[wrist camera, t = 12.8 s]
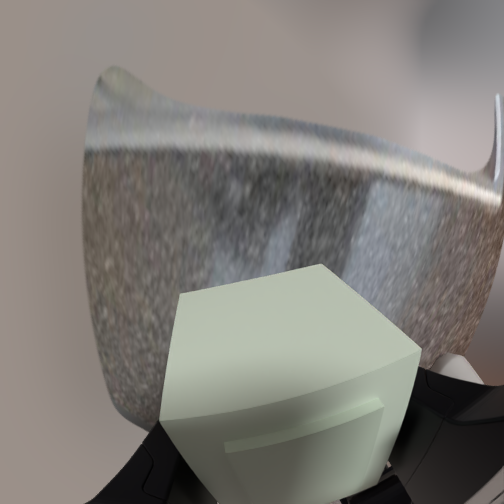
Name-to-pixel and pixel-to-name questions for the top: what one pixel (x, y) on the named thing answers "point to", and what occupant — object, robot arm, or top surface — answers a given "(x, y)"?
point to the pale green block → (285, 388)
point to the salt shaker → (455, 368)
